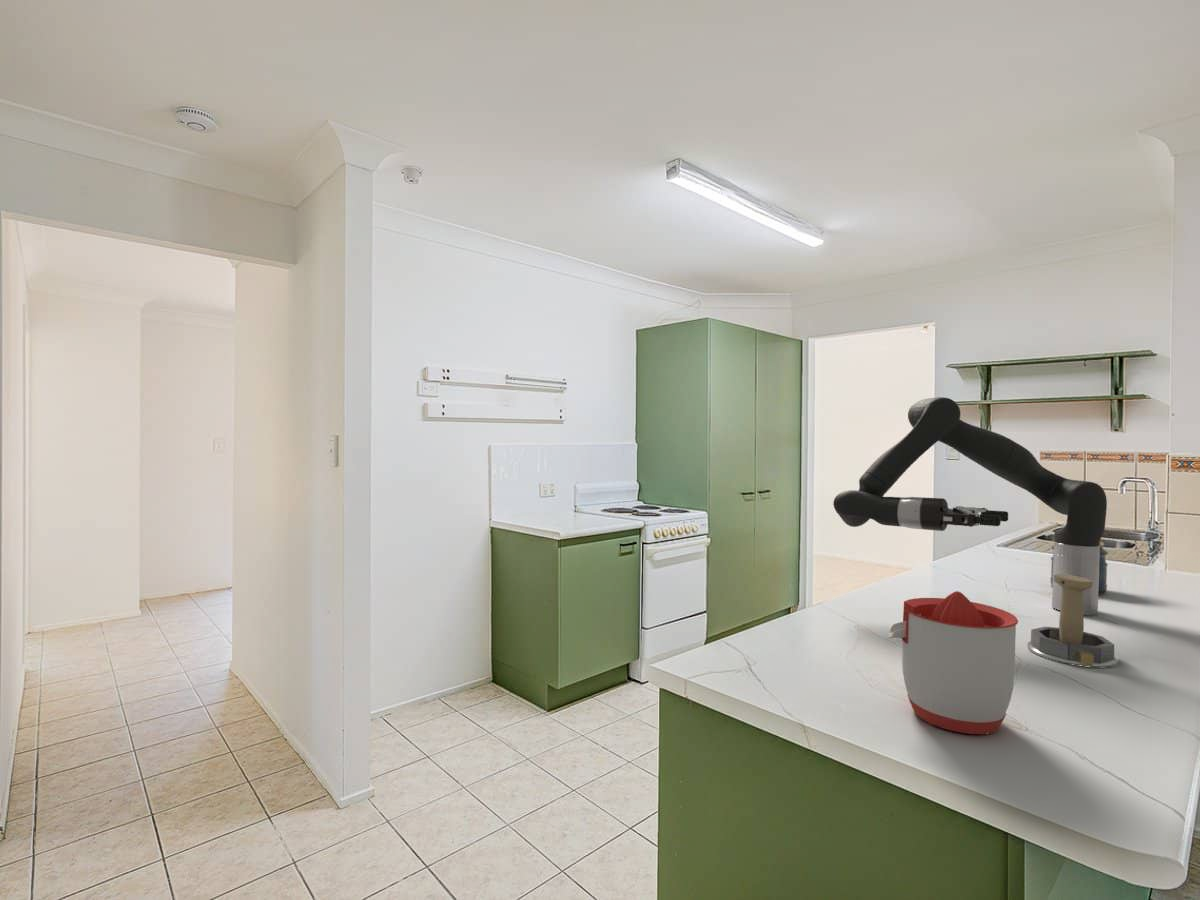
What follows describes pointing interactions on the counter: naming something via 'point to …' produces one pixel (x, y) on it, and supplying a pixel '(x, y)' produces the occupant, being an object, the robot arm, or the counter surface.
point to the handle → (1072, 607)
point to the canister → (1102, 569)
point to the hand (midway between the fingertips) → (1004, 518)
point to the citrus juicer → (957, 661)
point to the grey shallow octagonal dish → (1072, 648)
